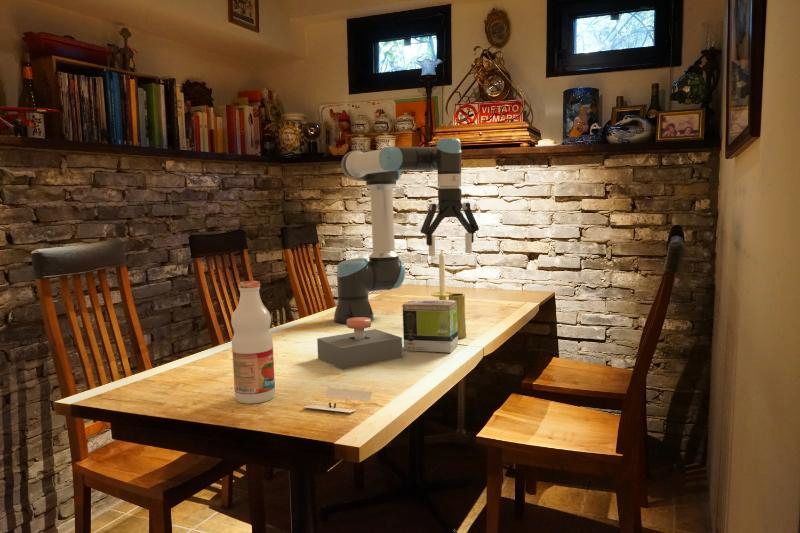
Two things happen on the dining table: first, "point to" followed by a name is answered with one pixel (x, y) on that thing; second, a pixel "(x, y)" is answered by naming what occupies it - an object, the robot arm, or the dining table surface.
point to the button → (359, 326)
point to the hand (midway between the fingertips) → (450, 254)
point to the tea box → (430, 325)
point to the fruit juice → (252, 347)
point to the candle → (442, 279)
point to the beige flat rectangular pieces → (343, 394)
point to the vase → (460, 313)
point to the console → (359, 349)
